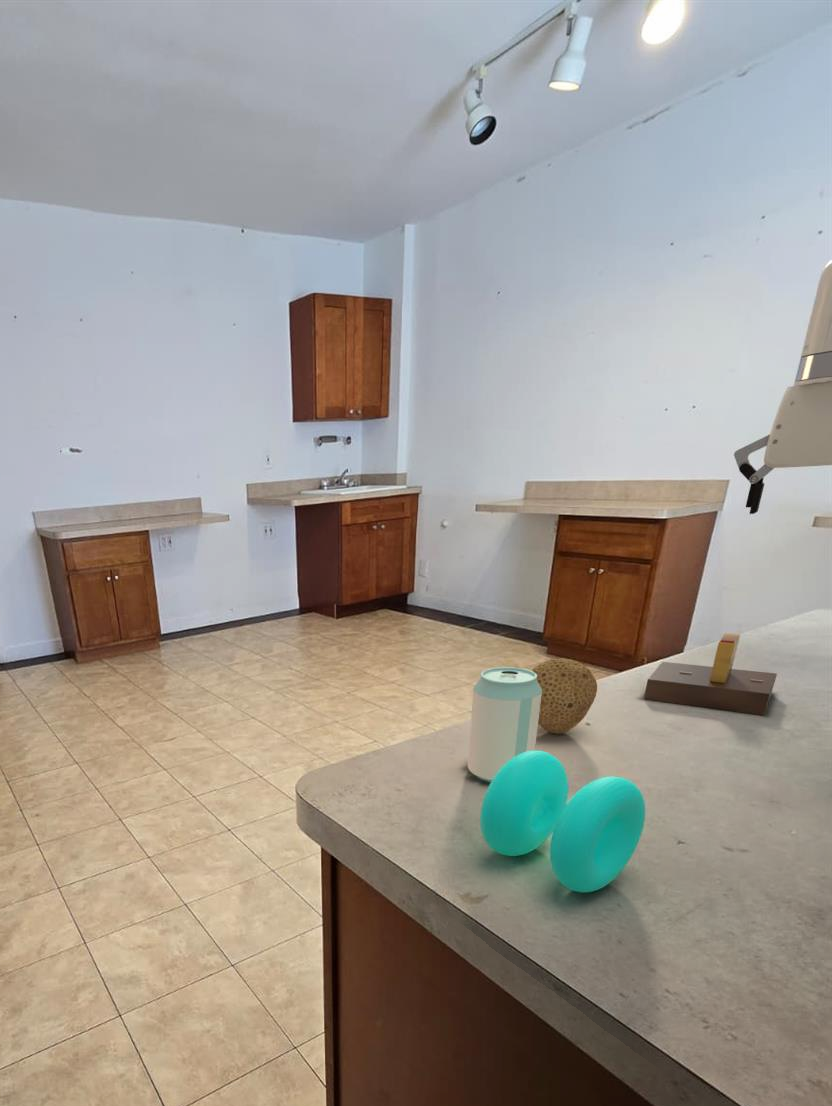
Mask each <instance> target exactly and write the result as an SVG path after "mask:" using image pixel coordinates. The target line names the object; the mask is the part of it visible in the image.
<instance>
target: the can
mask: <svg viewBox="0 0 832 1106" xmlns="http://www.w3.org/2000/svg"><path fill="white" fill-rule="evenodd" d="M541 695H542V689H541V687H540V685H539V684H538V682H537V674H536V673H534V672H533V671H531V670H530V669H527V668H522V667H512V666H500V667H491V668H487V669H485V670H483V671H482V672H480V678H479V679H478V680H477V681H476V683H475V684H474V686H473V690H472V703H471V716H470V728H469V729H470V731H469V740H468V741H469V742H468V755H467V756H468V757H467V768H468V771H469V772H470V773H471V774H473V775H474V776H476V777H477V778H478V779H480V780H483V781H484V782H488V783H491V782H492V780H493V778H494V777H495V775H496V774H497V773H498V771H499V770H500V769H501V768H502V767H503V766H504V765H505V764H506V763H507V762H508V761H509V760H511V759H512V758H514V757H515V756H517V755H519V754H521V753H524V752H527V751H533V750H536V745H537V744H536V743H537V735H538V728H539V724H538V720H539V712H540V704H541Z"/></svg>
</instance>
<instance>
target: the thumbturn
mask: <svg viewBox="0 0 832 1106" xmlns="http://www.w3.org/2000/svg"><path fill="white" fill-rule="evenodd" d="M740 638H741V634H740V633H724V634H723V635H722V636H721V638H720V640H719V641H718V643H717V648H716V652H715V656H714V660H713V664H712V667H713V668H712V673H711V677H710V681H712V682H721V683H725V682H726V680H727V679H728V677H729V675H730V673H731V670H732V669H733V667H734V666H733V665H734V661H735V657H736V653H737V649H738V646H739V641H740Z"/></svg>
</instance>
